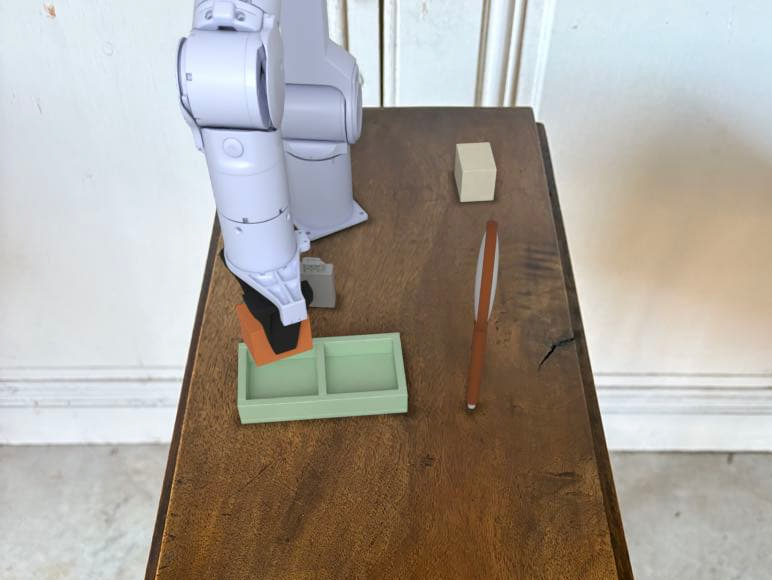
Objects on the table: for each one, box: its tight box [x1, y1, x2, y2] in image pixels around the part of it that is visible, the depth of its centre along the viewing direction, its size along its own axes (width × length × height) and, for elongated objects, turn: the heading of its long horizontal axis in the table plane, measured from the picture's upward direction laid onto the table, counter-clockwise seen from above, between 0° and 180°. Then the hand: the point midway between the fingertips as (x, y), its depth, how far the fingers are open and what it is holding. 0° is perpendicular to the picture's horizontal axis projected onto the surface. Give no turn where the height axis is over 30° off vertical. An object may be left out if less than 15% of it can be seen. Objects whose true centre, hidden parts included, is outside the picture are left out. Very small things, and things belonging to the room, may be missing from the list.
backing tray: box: [236, 332, 409, 425], centre depth 78 cm, size 8×16×2 cm, turn 96°
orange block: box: [235, 302, 313, 367], centre depth 72 cm, size 6×4×4 cm
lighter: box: [300, 256, 337, 309], centre depth 82 cm, size 7×2×8 cm, turn 87°
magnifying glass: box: [465, 219, 500, 410], centre depth 69 cm, size 9×2×20 cm, turn 173°
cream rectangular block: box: [454, 141, 497, 203], centre depth 95 cm, size 6×4×4 cm
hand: (276, 333), depth 73 cm, fingers closed on orange block, 4 cm apart
